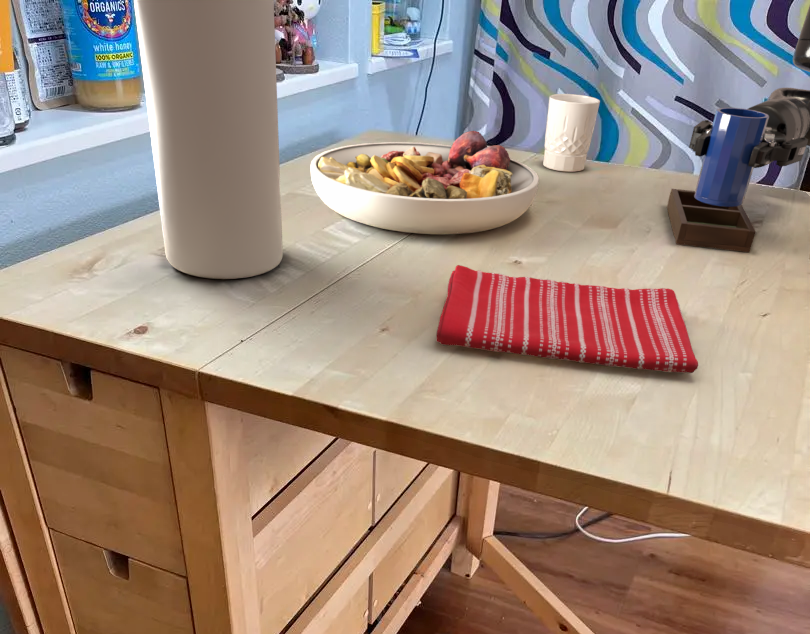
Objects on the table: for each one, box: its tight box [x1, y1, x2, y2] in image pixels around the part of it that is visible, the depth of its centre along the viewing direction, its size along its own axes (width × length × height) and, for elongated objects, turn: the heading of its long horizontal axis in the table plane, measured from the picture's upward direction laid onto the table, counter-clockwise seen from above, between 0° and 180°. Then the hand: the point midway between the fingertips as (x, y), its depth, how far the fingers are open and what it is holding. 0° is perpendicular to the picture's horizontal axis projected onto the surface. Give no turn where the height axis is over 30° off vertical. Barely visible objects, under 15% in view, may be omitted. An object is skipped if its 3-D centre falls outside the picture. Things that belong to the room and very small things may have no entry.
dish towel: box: [436, 264, 699, 374], centre depth 78 cm, size 17×24×3 cm
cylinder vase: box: [133, 0, 284, 280], centre depth 81 cm, size 12×12×25 cm
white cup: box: [542, 93, 601, 173], centre depth 129 cm, size 8×8×10 cm
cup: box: [694, 107, 769, 207], centre depth 100 cm, size 6×6×10 cm
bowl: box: [310, 130, 540, 235], centre depth 107 cm, size 30×30×8 cm
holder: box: [666, 188, 757, 253], centre depth 108 cm, size 9×17×3 cm, turn 169°
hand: (726, 152), depth 97 cm, fingers closed on cup, 6 cm apart
